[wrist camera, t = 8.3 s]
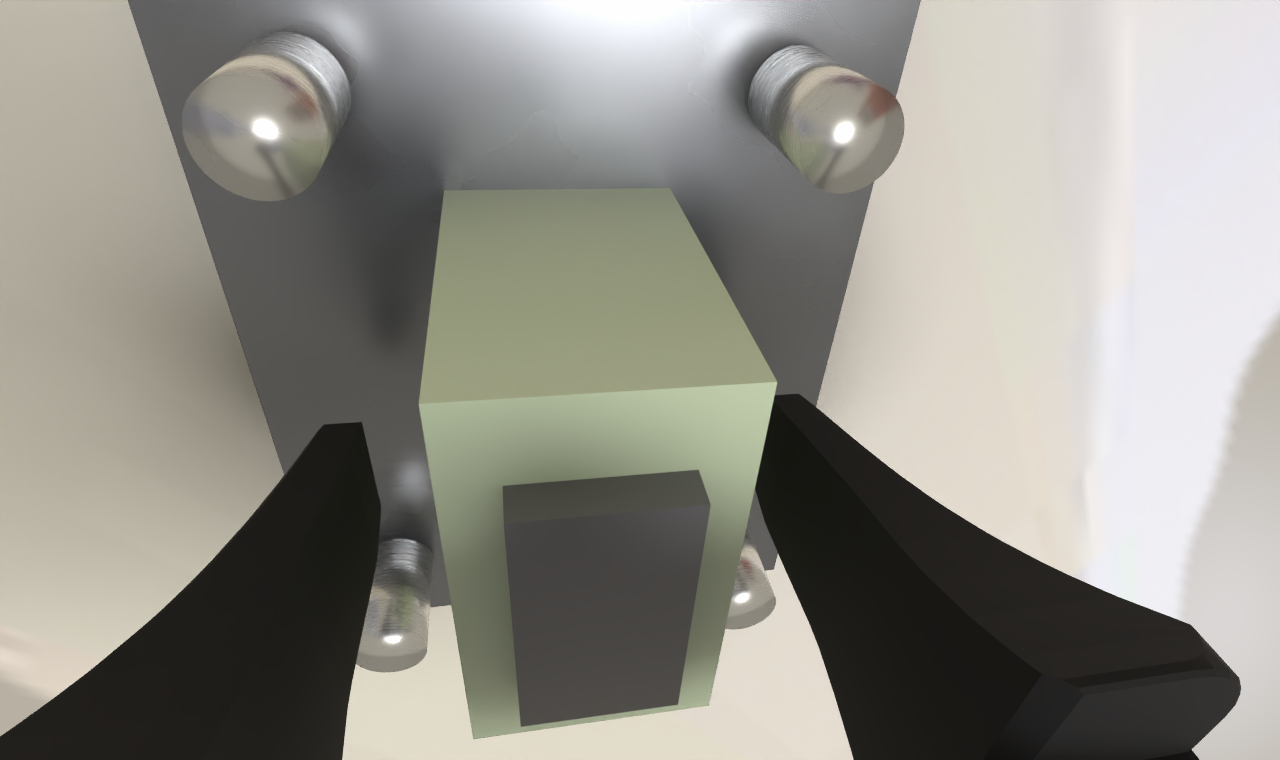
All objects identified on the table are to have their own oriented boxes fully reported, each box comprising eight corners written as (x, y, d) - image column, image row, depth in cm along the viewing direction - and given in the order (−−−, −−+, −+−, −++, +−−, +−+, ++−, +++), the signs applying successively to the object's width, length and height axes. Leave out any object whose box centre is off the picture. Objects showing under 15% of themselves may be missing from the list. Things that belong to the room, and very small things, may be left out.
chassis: (339, 580, 19) (313, 711, 16) (140, -74, 10) (4, -46, 7) (760, 537, 21) (804, 646, 18) (894, -39, 12) (1020, -5, 10)
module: (476, 482, 16) (472, 776, 11) (443, 190, 12) (413, 441, 7) (646, 468, 17) (717, 739, 12) (669, 187, 13) (795, 413, 8)
